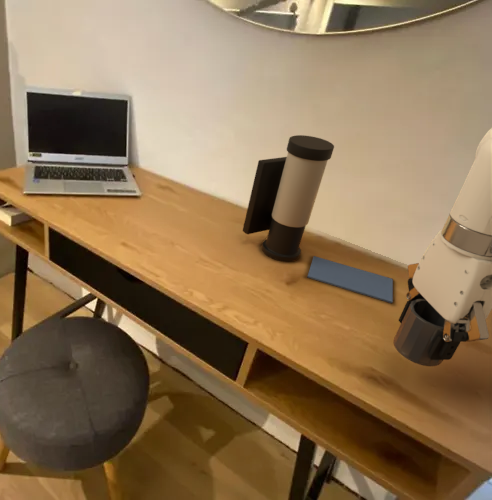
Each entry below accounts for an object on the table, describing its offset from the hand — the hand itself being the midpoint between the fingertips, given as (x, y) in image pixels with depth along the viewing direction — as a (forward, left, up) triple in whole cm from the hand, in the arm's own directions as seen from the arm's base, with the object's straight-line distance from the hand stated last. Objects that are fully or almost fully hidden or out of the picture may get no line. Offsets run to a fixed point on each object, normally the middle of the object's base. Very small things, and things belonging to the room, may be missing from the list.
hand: (423, 338), depth 70 cm
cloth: (-4, -26, -8) cm, 28 cm away
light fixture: (+8, -37, -8) cm, 39 cm away
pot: (0, 0, -2) cm, 2 cm away
